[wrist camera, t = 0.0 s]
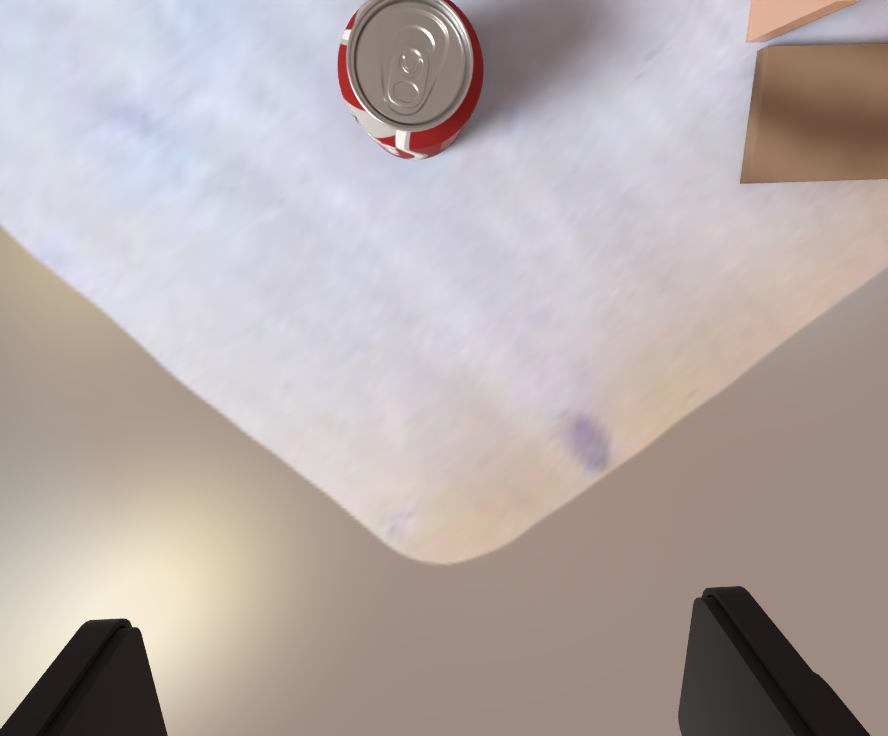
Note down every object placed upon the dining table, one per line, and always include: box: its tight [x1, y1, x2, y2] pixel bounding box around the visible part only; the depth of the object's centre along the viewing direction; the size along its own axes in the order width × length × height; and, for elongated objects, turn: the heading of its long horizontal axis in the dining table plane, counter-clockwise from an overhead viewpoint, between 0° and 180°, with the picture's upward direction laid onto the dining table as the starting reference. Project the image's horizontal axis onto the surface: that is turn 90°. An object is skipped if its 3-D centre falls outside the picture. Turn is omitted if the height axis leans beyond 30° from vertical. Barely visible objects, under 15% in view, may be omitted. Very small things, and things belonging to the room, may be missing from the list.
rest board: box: [740, 43, 888, 184], centre depth 35 cm, size 8×11×1 cm
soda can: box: [338, 0, 483, 160], centre depth 29 cm, size 7×7×12 cm
